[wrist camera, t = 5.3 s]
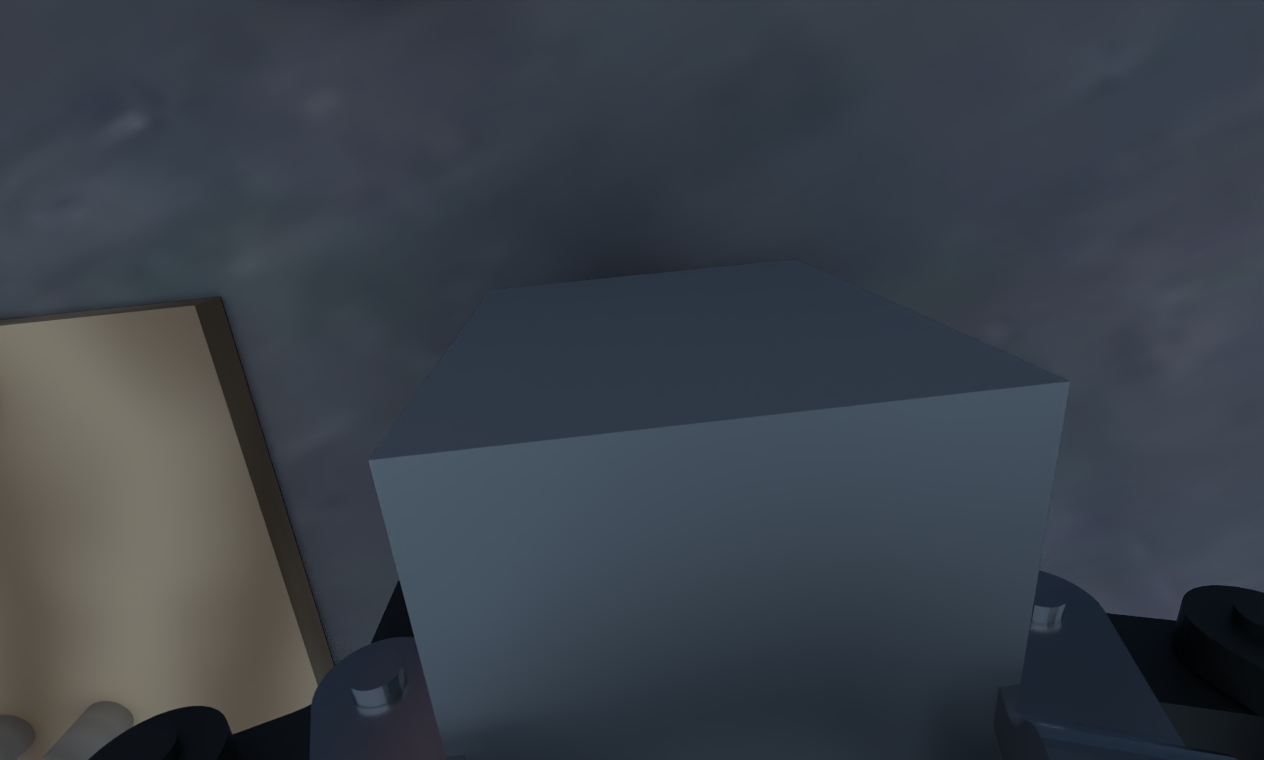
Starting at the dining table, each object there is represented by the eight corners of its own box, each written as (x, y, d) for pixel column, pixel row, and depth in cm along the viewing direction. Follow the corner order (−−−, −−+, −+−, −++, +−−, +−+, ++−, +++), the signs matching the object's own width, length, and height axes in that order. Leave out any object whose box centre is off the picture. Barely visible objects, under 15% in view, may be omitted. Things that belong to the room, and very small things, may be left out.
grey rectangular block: (552, 676, 13) (529, 1094, 7) (486, 290, 10) (360, 461, 4) (797, 644, 13) (968, 1024, 7) (799, 258, 10) (1076, 380, 4)
